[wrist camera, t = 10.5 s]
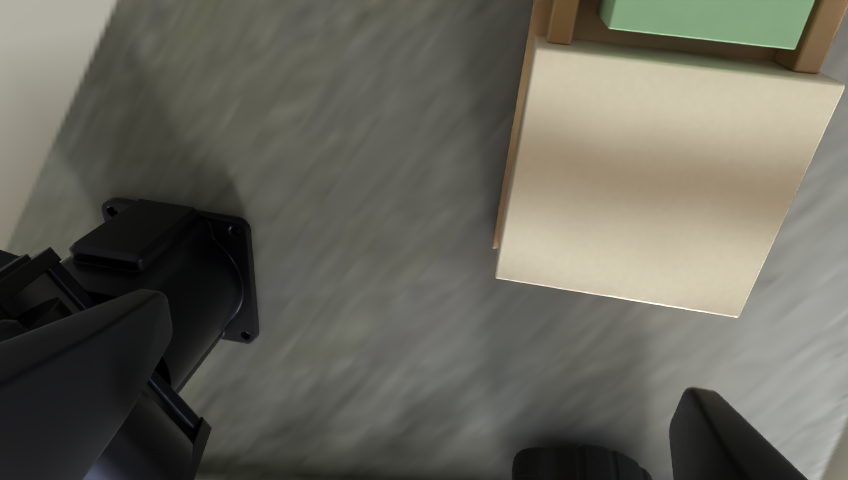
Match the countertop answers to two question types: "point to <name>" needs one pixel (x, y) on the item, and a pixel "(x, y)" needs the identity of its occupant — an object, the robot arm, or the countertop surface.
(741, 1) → the green rectangular block
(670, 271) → the frame
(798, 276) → the countertop surface
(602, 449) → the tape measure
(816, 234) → the countertop surface
